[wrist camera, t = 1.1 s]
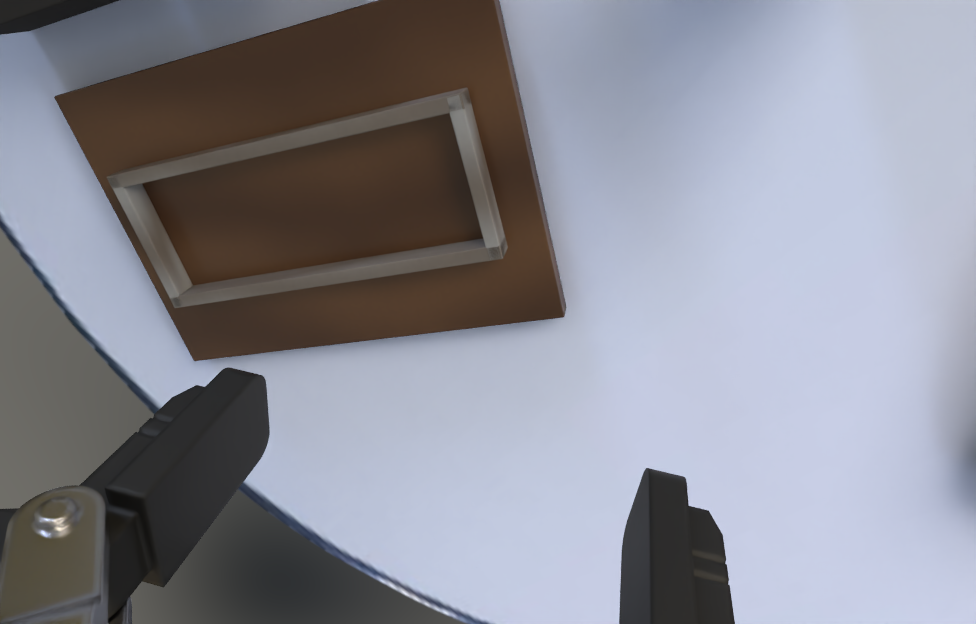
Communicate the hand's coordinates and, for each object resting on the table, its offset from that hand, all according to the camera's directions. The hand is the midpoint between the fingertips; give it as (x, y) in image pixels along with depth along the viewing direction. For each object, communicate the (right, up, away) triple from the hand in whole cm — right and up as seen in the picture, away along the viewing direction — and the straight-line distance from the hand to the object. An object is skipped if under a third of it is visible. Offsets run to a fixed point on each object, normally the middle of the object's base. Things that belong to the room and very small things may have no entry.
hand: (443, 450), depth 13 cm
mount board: (-9, +9, +24) cm, 27 cm away
